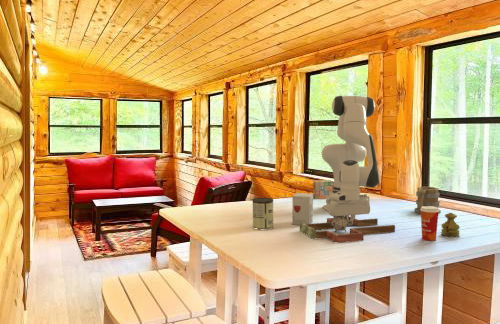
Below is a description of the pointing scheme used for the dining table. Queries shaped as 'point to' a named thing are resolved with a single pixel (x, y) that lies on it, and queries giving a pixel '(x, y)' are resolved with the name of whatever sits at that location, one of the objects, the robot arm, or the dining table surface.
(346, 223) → the game die
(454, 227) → the gold metal turned piece
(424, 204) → the tankard
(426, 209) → the paper cup
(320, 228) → the trap channel
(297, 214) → the supplement box
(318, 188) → the stack of blocks
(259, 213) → the coffee can
